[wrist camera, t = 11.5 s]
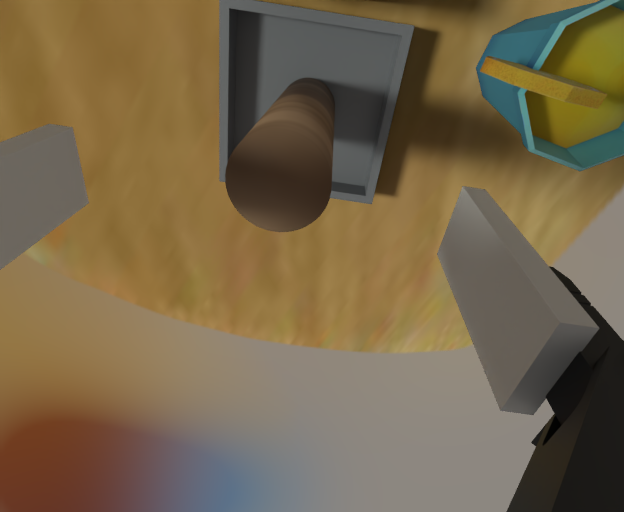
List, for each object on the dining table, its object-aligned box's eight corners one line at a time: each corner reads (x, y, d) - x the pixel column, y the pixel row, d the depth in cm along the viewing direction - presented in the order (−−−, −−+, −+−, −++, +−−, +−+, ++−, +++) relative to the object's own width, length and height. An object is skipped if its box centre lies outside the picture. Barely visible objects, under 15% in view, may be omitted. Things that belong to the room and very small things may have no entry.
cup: (663, -14, 23) (1057, -55, 10) (617, 118, 27) (859, 203, 14) (431, 4, 24) (528, -13, 12) (420, 127, 28) (484, 213, 16)
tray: (229, -3, 25) (219, -6, 23) (408, 25, 25) (414, 25, 23) (227, 170, 31) (219, 181, 29) (369, 191, 31) (371, 204, 29)
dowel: (283, 73, 27) (226, 121, 13) (339, 82, 27) (340, 138, 13) (278, 130, 29) (224, 224, 15) (330, 138, 29) (322, 238, 15)
